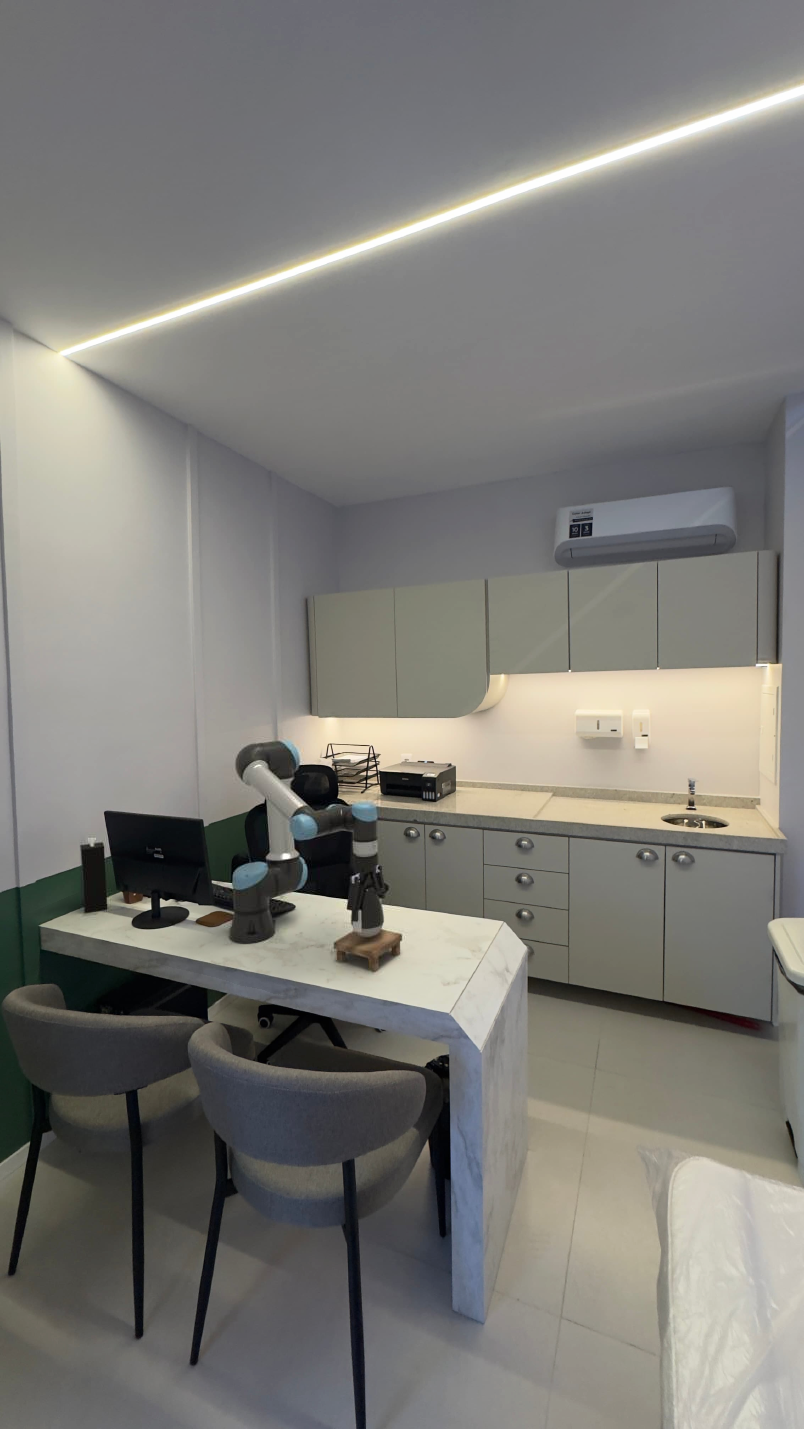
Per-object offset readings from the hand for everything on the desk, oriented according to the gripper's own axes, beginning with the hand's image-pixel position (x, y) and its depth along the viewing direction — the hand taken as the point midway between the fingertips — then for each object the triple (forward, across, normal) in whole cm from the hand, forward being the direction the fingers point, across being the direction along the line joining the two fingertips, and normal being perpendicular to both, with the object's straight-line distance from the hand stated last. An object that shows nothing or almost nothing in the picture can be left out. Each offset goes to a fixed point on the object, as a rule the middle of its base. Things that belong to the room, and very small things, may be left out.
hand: (367, 924), depth 186 cm
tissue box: (+11, -17, +118) cm, 120 cm away
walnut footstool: (+10, 0, 0) cm, 10 cm away
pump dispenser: (+3, 0, 0) cm, 3 cm away
